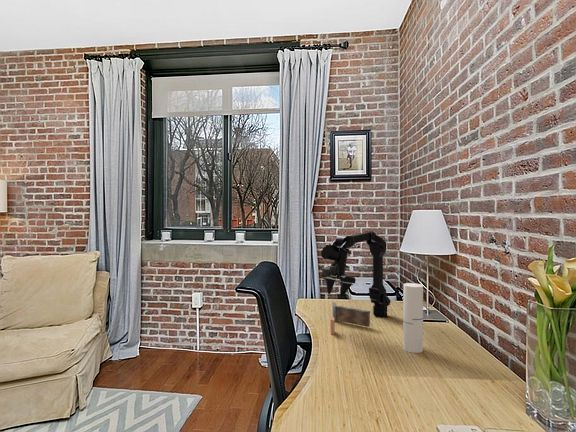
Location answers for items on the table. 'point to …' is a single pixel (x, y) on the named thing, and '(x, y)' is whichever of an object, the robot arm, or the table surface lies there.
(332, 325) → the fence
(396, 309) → the table surface
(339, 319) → the gate
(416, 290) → the cylindrical container
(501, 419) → the table surface
